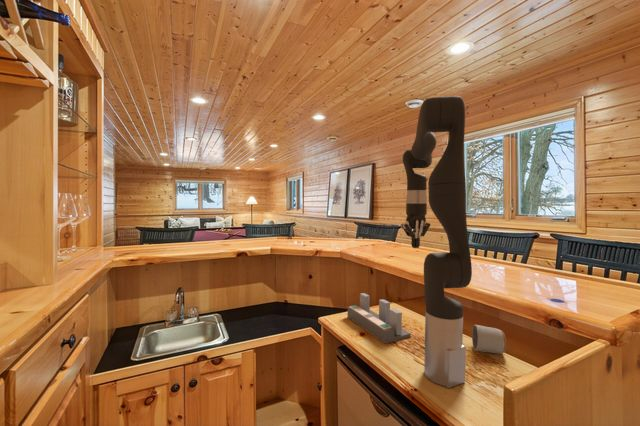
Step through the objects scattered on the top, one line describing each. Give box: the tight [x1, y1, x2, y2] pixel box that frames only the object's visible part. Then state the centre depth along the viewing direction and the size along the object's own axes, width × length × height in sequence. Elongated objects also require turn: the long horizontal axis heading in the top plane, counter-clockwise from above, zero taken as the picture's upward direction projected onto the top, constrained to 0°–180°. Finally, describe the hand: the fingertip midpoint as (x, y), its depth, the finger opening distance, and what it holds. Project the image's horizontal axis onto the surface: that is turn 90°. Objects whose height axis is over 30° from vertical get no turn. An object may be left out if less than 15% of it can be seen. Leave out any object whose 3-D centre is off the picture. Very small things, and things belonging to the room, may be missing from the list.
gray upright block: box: [378, 299, 391, 323], centre depth 111 cm, size 4×2×8 cm, turn 25°
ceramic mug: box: [471, 324, 507, 355], centre depth 93 cm, size 11×8×8 cm
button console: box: [347, 304, 412, 344], centre depth 109 cm, size 24×11×5 cm, turn 25°
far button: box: [359, 292, 371, 313], centre depth 118 cm, size 4×2×8 cm, turn 25°
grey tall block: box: [389, 308, 403, 335], centre depth 101 cm, size 4×2×8 cm, turn 25°
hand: (415, 247), depth 112 cm, fingers closed
